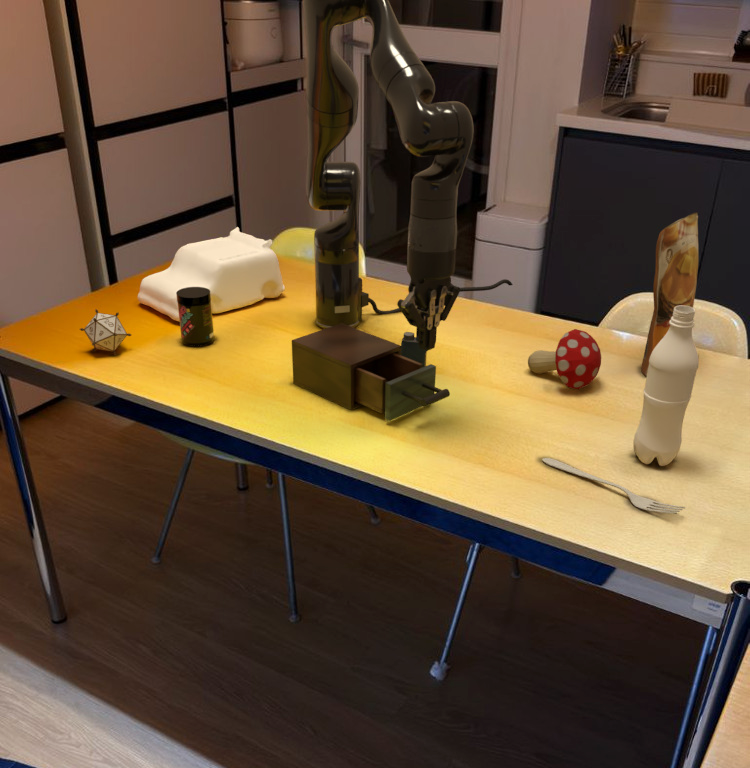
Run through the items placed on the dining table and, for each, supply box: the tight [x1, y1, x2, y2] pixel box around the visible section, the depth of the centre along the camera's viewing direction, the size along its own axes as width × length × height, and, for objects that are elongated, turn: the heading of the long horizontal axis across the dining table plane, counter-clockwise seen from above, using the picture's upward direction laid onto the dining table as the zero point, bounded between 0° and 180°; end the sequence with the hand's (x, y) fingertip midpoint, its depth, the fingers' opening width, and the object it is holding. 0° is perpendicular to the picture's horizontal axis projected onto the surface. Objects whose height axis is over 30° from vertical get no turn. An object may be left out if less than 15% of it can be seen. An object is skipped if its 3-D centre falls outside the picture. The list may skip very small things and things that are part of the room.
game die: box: [79, 308, 132, 356], centre depth 174 cm, size 9×8×10 cm
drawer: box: [354, 353, 451, 422], centre depth 154 cm, size 20×11×7 cm, turn 45°
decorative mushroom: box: [527, 328, 602, 391], centre depth 165 cm, size 11×11×15 cm
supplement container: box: [176, 287, 215, 348], centre depth 178 cm, size 7×7×10 cm
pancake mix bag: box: [640, 211, 700, 377], centre depth 167 cm, size 7×19×28 cm, turn 136°
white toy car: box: [137, 226, 286, 323], centre depth 198 cm, size 19×30×13 cm, turn 132°
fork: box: [541, 457, 687, 515], centre depth 133 cm, size 3×24×2 cm, turn 44°
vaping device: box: [400, 327, 428, 367], centre depth 165 cm, size 3×5×12 cm, turn 78°
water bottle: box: [633, 306, 700, 467], centre depth 135 cm, size 7×7×25 cm
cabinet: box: [291, 323, 401, 411], centre depth 161 cm, size 16×13×9 cm
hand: (426, 348), depth 145 cm, fingers closed
